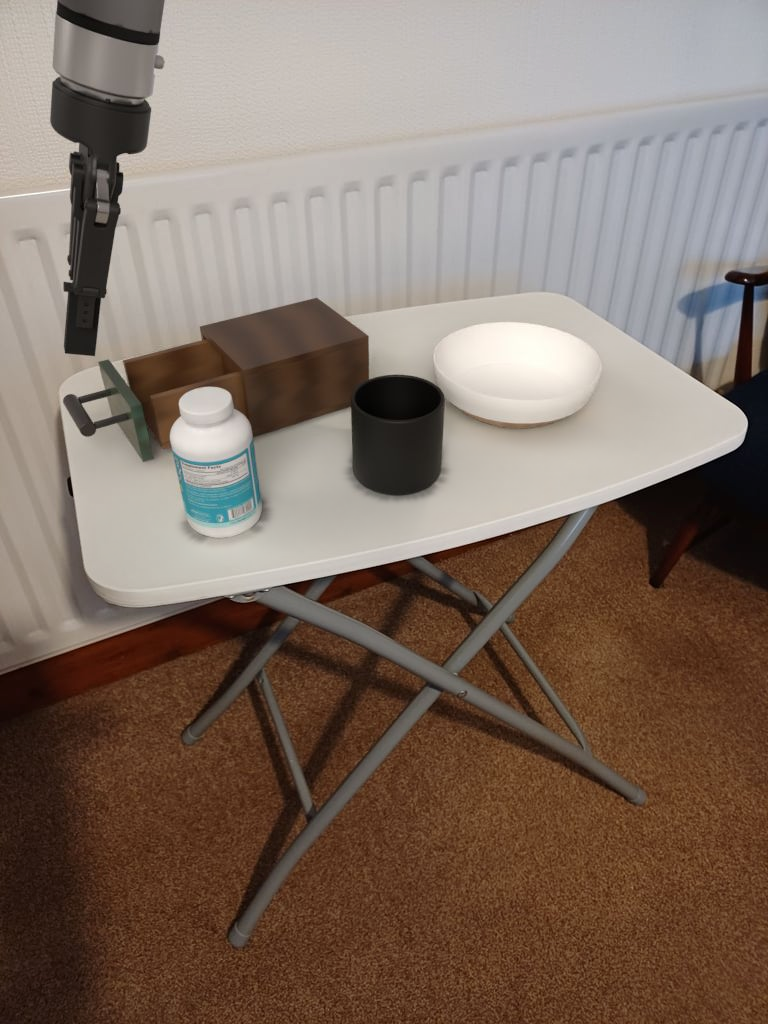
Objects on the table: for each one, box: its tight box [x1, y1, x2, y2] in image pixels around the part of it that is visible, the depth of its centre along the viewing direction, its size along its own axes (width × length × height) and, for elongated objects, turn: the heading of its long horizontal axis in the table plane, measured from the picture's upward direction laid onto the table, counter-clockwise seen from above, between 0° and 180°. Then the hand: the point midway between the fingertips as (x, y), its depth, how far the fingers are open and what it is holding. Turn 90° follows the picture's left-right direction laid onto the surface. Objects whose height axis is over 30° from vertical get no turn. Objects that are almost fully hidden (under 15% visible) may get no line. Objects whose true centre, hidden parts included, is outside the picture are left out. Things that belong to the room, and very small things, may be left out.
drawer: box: [62, 339, 247, 462], centre depth 87 cm, size 20×11×7 cm, turn 122°
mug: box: [350, 374, 446, 496], centre depth 82 cm, size 9×12×9 cm
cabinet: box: [199, 297, 370, 438], centre depth 94 cm, size 16×13×9 cm
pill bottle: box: [170, 387, 263, 539], centre depth 74 cm, size 8×7×14 cm
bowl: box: [432, 321, 603, 429], centre depth 93 cm, size 20×20×6 cm
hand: (79, 350), depth 76 cm, fingers closed
